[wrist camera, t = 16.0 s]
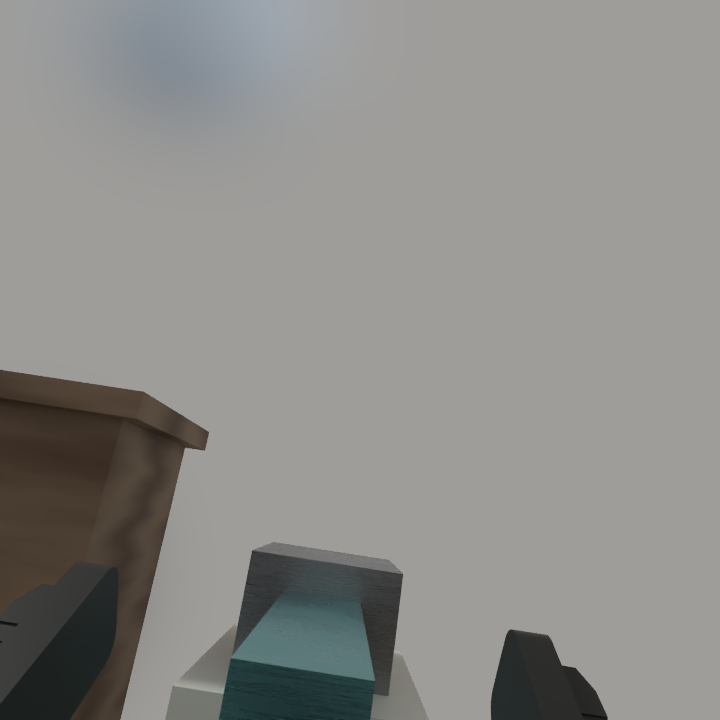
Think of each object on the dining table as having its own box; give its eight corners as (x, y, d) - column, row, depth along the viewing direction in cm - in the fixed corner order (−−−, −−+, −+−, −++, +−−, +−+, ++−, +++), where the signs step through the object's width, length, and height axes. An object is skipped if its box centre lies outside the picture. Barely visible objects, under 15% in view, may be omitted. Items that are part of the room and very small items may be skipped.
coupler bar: (257, 632, 31) (273, 542, 33) (377, 651, 31) (389, 560, 33) (119, 819, 12) (174, 580, 13) (431, 870, 12) (454, 624, 13)
